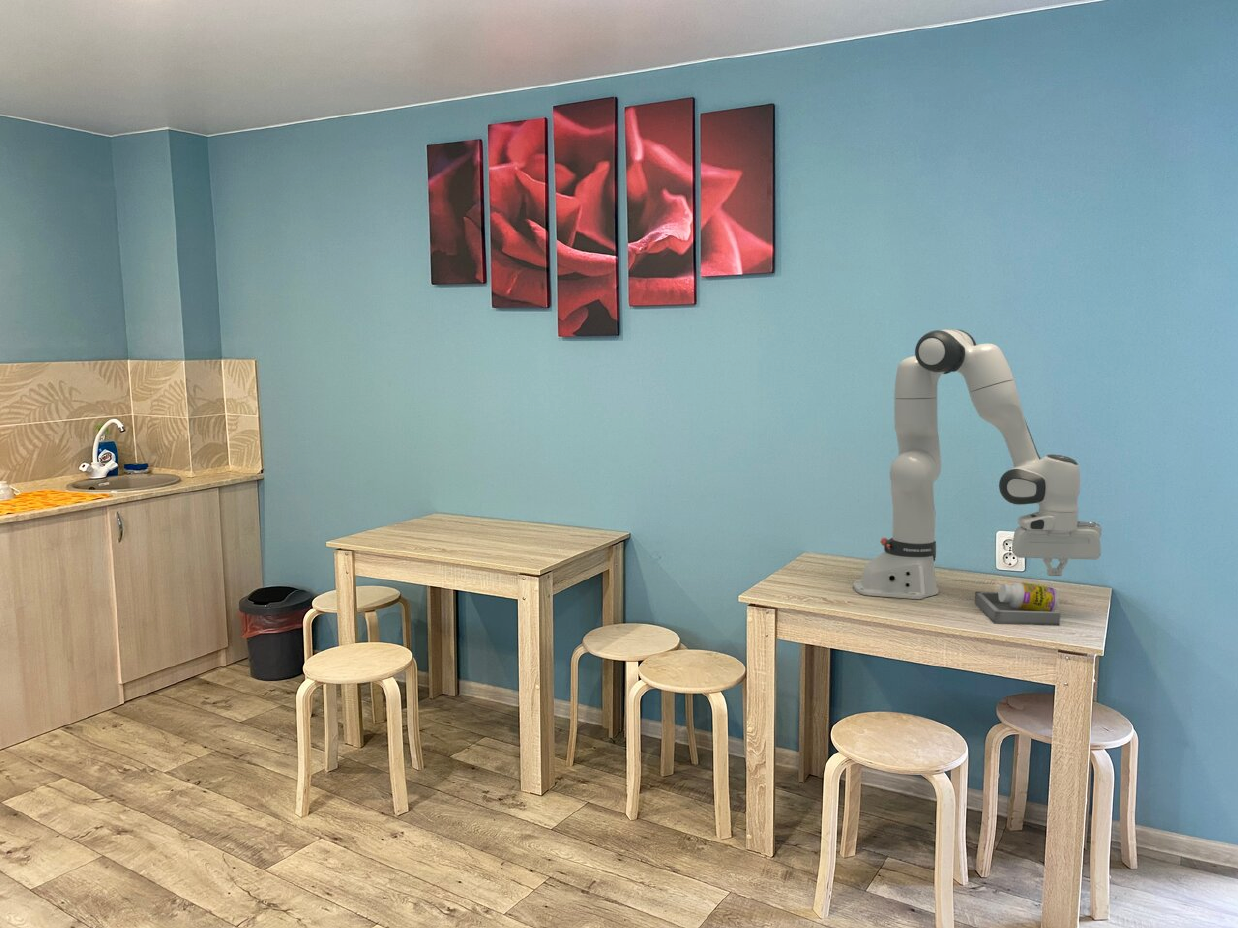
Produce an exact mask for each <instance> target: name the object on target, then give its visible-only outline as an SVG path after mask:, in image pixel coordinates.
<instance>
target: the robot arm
mask: <svg viewBox="0 0 1238 928" xmlns="http://www.w3.org/2000/svg"><path fill="white" fill-rule="evenodd" d="M914 354H915V355H913V356H909V357H908V356H907V357H906V358H904V359H903V360H901V361H900V362H899V363H898V366H897V368H896V369H897V370H896V375H895V381H894V390H893V391H894V393H893V394H894V396H893V397H894V398H893V399H894V400H893V401H894V403H893V405H894V407H893V408H894V413H893V414H894V416H893V417H894V419H893V420H894V424H893V425H894V430H895V434H896V439H897V447H898V449H897V450H898V456H896V457H895V458H894V460H893V461H892V462H891V464H890V468H889V478H890V479H889V481H890V493H891V494H890V495H891V502H892V503H891V504H892V529H891V530H892V534H891V535H892V536H891V538H889V539H888V538H887V537H881V539H880V544H881V545H882V546H883V550H884V551H883V552H881V554H879V555H877V556H876V557H874V558H873V559H871V560H870V561H868V562H867V563H866V564H865V565H864V567H863V571H862V573H861V578H860V579H855V580H854V582H853V585H852V586H853V587H852V588H853V589H854V591H855V592H856V593H858V594H860V595H864V596H870V597H872V596H873V597H883V598H884V597H885V598H898V599H899V598H900V599H909V600H910V599H913V600H922V599H924V598H927V597H933V596H934V595H937V594H939V588H938V582H937V578H936V569H935V568H936V567H935V561H936V558H937V541H936V540H935V535H936V534H935V533H936V513H937V512H936V508H935V496H934V483H935V481H936V480H937V479H938V478H939V476H940V475H941V471H942V460H941V459H942V458H941V457H942V456H941V446H940V437H939V436H940V435H939V428H938V385H939V384H938V383H939V379H940V377H941V376H942V375H946V374H947V375H948V374H949V373H950V374H951V373H955V372H958V373H959V374H960V375H962V377H963V379H964V381H965V383H966V386H967V390H968V393H969V396H970V400H971V403H972V406H973V408H974V409H975V410H976V412H977V414H978V416H979V417H980V418H981V419H983V420H984V421H985V422H987V423H990V424H991V425H993V426H994V427H995V428H996V429H997V430H999V432H1000V433H1001V435H1002V437H1003V439H1004V441H1005V445H1006V447H1007V449H1008V452H1009V455H1010V457H1011V460H1012V463H1013V467H1012V468H1010V469H1008V470H1006V472H1004V473H1003V474H1002V476H1001V477H1000V479H999V482H998V483H999V484H998V489H999V493H1000V494H1001V496H1002V498H1003V499H1004V500H1005V501H1007V502H1008V503H1010V504H1013V505H1017V506H1024V505H1031V504H1032V505H1033V504H1036V505H1038V511H1036V512H1031V513H1029V514H1025V515H1021V516H1018V519H1017V524H1018V525H1019V526H1018V527H1017V528H1016V529H1015V531H1014V533H1013V536H1012V545H1011V553H1012V554H1013V555H1014V556H1015V557H1017V558H1019V559H1021V558H1022V559H1043V560H1042V561H1043V563H1044V565H1045V566H1046V568H1047V571H1046V573H1047V576H1049V577H1063V576H1062V575H1063V569H1065V568H1066V566H1067V564H1068V560H1098V559H1100V557H1101V554H1102V552H1101V551H1102V550H1101V548H1102V547H1101V537H1102V531H1103V530H1102V527H1101V525H1100V524H1099V523H1096V522H1095V521H1083V520H1082V521H1078V520H1079V506H1078V505H1079V504H1078V500H1079V499H1078V498H1079V496H1080V492H1081V491H1080V490H1081V472H1080V466H1079V464H1078V462H1077V461H1076V460H1074V458H1071V457H1069V456H1065V455H1062V454H1061V455H1060V454H1047V455H1045V456H1043V457H1042V458H1041V456H1040V455H1039V453H1038V451H1037V447H1036V444H1035V442H1034V439H1033V437H1032V434H1031V431H1030V428H1029V426H1028V423H1027V421H1026V418H1025V415H1024V412H1023V408H1022V404H1021V400H1020V395H1019V392H1018V387H1017V384H1016V381H1015V378H1014V375H1013V372H1012V370H1011V367H1010V365H1009V362H1008V361H1007V359H1006V357H1005V355H1004V353H1003V352H1002V349H1001V348H1000V347H999V346H998V345H996V344H994V343H979V344H977V342H976V340H975V339H974V337H973V336H972V335H971V334H970V333H968V332H966V331H965V330H962V329H954V328H943V329H939V330H938V329H936V330H931V331H929V332H926V333H925V334H923V335H922V336H921V338H919V340H917V343H916V345H915V349H914ZM1053 559H1054V560H1055V559H1057V560H1058V562H1059V564H1058V565H1057V566H1056V567H1052V565H1051V563H1053Z"/></svg>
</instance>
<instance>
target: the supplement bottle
mask: <svg viewBox="0 0 1238 928" xmlns="http://www.w3.org/2000/svg"><path fill="white" fill-rule="evenodd" d="M998 592H999V593H998V597H999V600H1000V602H1004V603H1007V602H1009V604H1010V606H1011V607H1013V608H1016V609H1022V610H1028V611H1046V612H1056V610H1057V608H1058V605H1059V601H1060V600H1059V599H1060V598H1059V593H1058V591H1057V589H1056V588H1054V587H1051V586H1045V585H1039V584H1032V583H1028V582H1027V583H1026V582H1021V581H1014V582H1013V583H1011V584H1009V583H1001V584H1000V586H999V588H998Z"/></svg>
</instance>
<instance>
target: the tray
mask: <svg viewBox="0 0 1238 928" xmlns="http://www.w3.org/2000/svg"><path fill="white" fill-rule="evenodd" d="M998 593H999V591H997V592H995V591H975V592H974V604H975V605H976V606H977V607H978V608H979V609H980V610H981V611H982V612H983V613H984V614H985V615H986V616H987V618H989V619H990V621H992V623H993V624H995V625H997V624H999V625H1001V624H1002V625H1006V624H1007V625H1029V624H1034V625H1038V626H1060V622H1061V621H1060V620H1061V612H1059V611H1055V612H1046V611H1028V610H1022V609H1016V608H1013V607H1011V606H1010V604H1009V602H1007V603H1004V602H1000V600H999V597H998ZM996 623H997V624H996Z"/></svg>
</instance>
